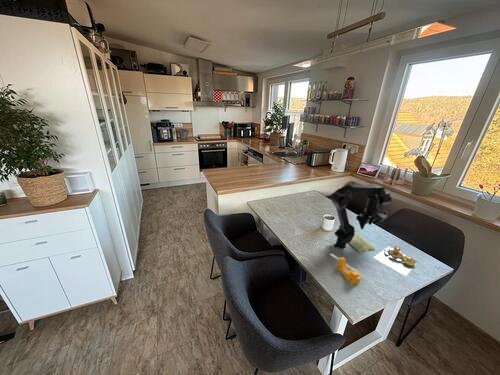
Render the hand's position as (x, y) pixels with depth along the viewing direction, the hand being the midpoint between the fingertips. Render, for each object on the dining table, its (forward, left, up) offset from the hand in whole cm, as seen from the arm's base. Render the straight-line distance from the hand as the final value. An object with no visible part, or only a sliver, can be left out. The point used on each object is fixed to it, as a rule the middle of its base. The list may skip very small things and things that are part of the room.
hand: (365, 226), depth 124 cm
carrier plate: (0, -20, -12) cm, 23 cm away
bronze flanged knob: (+3, -18, -11) cm, 21 cm away
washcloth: (-4, +1, -13) cm, 13 cm away
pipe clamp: (-32, -10, -12) cm, 36 cm away
